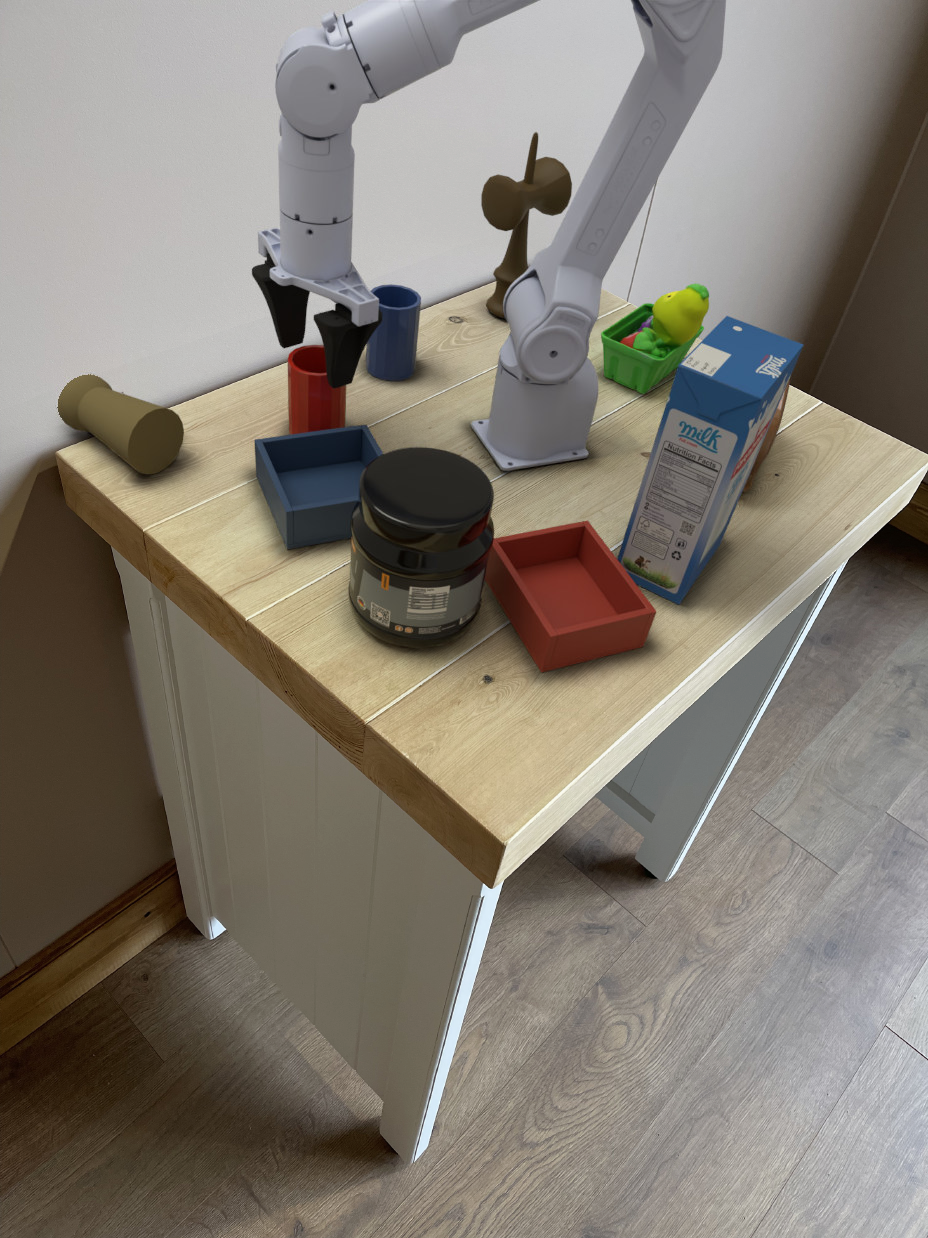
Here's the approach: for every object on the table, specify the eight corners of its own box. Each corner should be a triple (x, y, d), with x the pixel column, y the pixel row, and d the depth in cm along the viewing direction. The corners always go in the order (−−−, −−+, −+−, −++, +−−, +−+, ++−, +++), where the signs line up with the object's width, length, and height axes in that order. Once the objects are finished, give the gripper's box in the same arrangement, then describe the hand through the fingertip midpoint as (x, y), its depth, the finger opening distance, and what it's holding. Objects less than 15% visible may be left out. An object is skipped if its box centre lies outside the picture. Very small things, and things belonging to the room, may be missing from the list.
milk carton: (678, 605, 77) (761, 397, 63) (612, 573, 79) (678, 364, 64) (720, 544, 83) (804, 343, 69) (657, 516, 85) (727, 314, 71)
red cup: (335, 416, 90) (336, 341, 84) (351, 446, 87) (354, 371, 81) (283, 423, 88) (281, 347, 83) (298, 454, 85) (297, 378, 79)
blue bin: (364, 460, 86) (366, 423, 83) (402, 528, 79) (406, 492, 77) (256, 476, 82) (254, 439, 79) (287, 549, 76) (286, 512, 73)
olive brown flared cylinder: (126, 418, 75) (40, 370, 79) (129, 483, 79) (46, 434, 83) (183, 400, 79) (99, 356, 84) (184, 462, 83) (103, 417, 87)
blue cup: (404, 352, 100) (410, 282, 94) (421, 377, 97) (428, 306, 91) (359, 357, 98) (362, 286, 93) (375, 383, 95) (379, 311, 89)
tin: (738, 423, 98) (765, 352, 92) (767, 432, 97) (796, 361, 91) (714, 501, 88) (743, 426, 82) (746, 511, 87) (778, 437, 81)
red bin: (578, 555, 80) (587, 519, 77) (643, 646, 73) (657, 611, 70) (481, 575, 76) (488, 538, 74) (541, 672, 70) (550, 636, 67)
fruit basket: (635, 340, 108) (661, 246, 100) (703, 370, 105) (735, 275, 97) (587, 376, 101) (611, 277, 93) (658, 409, 98) (689, 310, 90)
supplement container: (415, 544, 78) (428, 424, 70) (506, 612, 74) (532, 493, 65) (319, 599, 72) (320, 475, 64) (412, 676, 68) (426, 555, 59)
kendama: (550, 310, 111) (586, 132, 97) (501, 334, 105) (530, 149, 91) (512, 291, 113) (541, 115, 99) (461, 313, 108) (484, 130, 94)
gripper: (222, 183, 74) (232, 338, 83) (328, 256, 67) (325, 416, 76) (296, 170, 77) (298, 319, 87) (404, 238, 71) (392, 392, 80)
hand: (315, 363), depth 82 cm, fingers open, 7 cm apart
